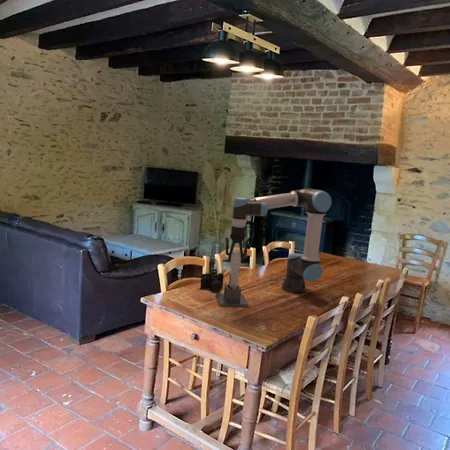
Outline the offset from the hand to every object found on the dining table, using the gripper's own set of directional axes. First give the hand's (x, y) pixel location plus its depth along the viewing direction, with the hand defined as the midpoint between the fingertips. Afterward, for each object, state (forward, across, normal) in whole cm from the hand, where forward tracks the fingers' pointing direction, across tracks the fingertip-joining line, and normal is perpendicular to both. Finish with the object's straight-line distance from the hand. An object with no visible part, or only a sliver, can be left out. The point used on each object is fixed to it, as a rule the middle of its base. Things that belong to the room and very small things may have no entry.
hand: (234, 267), depth 231 cm
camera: (+20, +9, -19) cm, 29 cm away
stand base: (+20, 0, 0) cm, 20 cm away
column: (+12, 0, 0) cm, 12 cm away
